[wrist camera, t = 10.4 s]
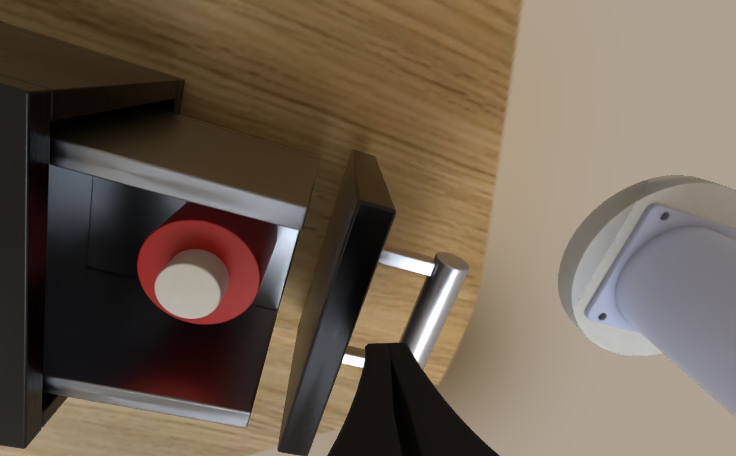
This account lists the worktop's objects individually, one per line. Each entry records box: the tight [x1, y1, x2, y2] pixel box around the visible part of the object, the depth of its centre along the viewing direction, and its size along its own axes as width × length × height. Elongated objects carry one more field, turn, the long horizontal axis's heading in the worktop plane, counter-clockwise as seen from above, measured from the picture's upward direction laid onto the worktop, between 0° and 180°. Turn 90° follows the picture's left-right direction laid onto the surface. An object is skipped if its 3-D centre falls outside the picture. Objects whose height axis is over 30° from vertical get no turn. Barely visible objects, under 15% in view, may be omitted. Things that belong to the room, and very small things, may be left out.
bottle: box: [137, 201, 277, 325], centre depth 16 cm, size 4×4×6 cm
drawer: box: [42, 104, 469, 456], centre depth 16 cm, size 17×10×8 cm, turn 72°
